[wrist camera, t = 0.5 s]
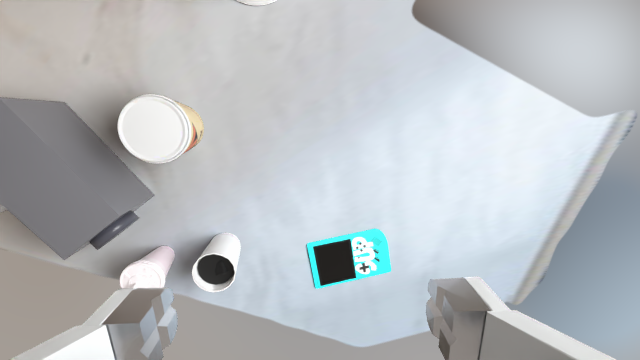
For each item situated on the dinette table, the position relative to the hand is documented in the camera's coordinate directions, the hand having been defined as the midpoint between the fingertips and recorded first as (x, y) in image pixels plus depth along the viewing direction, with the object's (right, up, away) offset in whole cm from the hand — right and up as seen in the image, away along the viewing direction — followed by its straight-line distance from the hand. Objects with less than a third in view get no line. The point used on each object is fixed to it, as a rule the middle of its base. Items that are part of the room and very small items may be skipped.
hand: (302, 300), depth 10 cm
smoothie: (-28, -10, +47) cm, 56 cm away
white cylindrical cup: (-17, -9, +48) cm, 52 cm away
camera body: (-39, +6, +42) cm, 57 cm away
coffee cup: (-23, +13, +43) cm, 50 cm away
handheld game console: (+6, -12, +52) cm, 54 cm away
